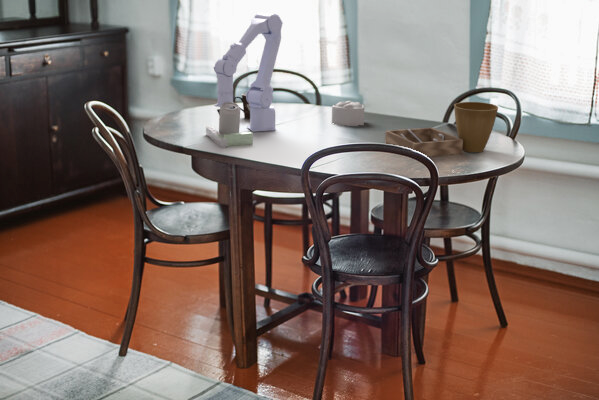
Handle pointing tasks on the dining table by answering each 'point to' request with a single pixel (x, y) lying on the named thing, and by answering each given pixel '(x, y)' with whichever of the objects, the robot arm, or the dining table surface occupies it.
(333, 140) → the dining table surface
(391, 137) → the rack corral
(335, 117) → the lumpy-topped squat cylinder
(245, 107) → the coffee mug
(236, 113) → the can
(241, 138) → the pale green flat block
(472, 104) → the plant pot
